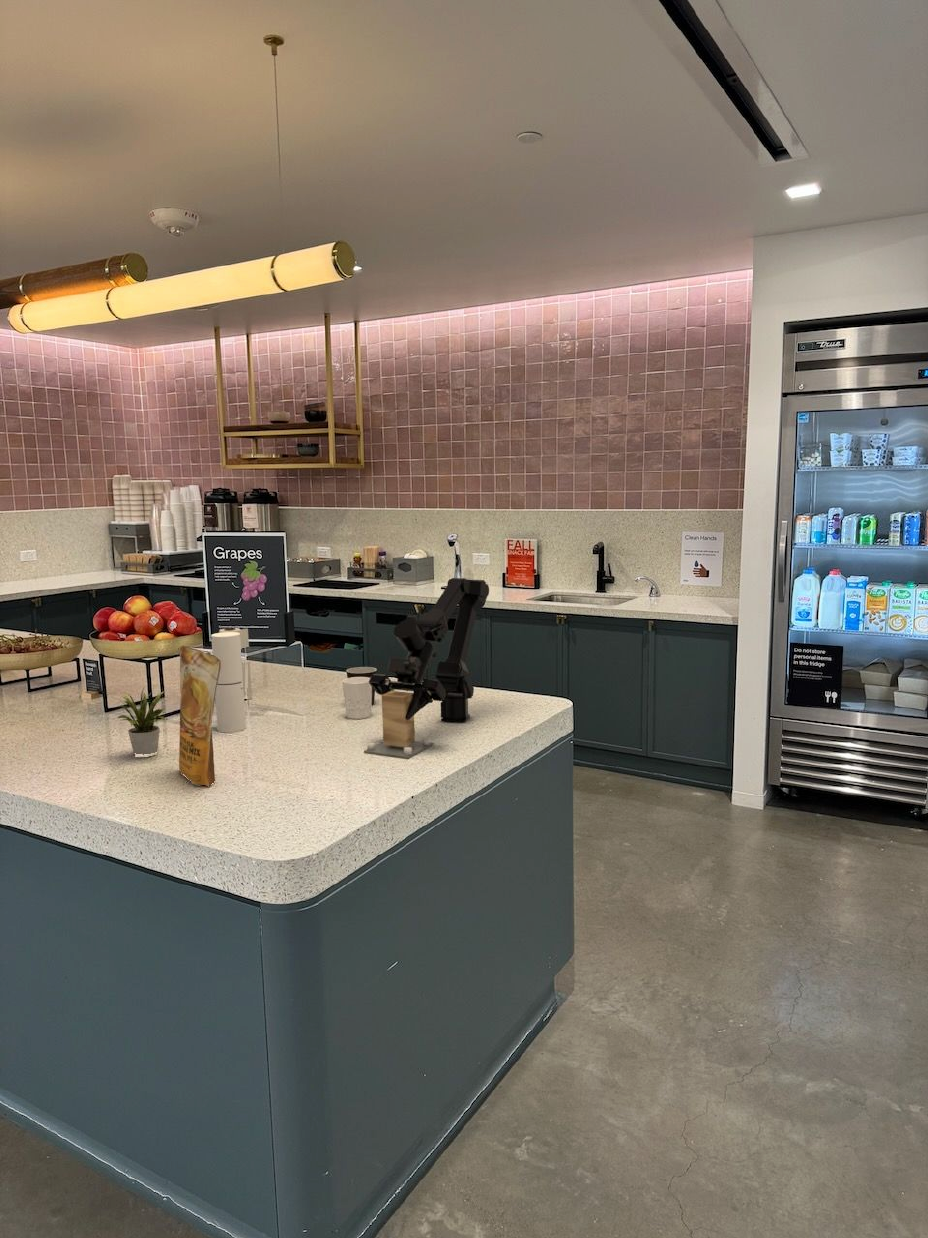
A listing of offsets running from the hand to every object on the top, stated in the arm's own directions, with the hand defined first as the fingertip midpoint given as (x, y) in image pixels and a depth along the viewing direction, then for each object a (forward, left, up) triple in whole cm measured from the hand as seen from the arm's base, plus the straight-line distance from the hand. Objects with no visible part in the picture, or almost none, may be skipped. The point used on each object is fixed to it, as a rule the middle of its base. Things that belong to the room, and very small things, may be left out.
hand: (395, 717), depth 212 cm
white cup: (+19, -29, -8) cm, 36 cm away
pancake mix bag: (+37, +25, -8) cm, 45 cm away
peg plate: (0, -1, -8) cm, 8 cm away
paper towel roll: (+61, -41, -8) cm, 74 cm away
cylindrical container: (+48, -12, -8) cm, 50 cm away
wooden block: (0, -1, -7) cm, 7 cm away
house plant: (+59, +13, -8) cm, 61 cm away
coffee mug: (+22, -43, -8) cm, 49 cm away
